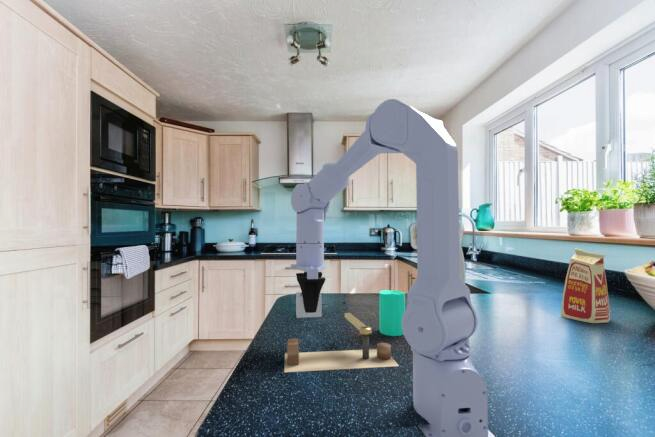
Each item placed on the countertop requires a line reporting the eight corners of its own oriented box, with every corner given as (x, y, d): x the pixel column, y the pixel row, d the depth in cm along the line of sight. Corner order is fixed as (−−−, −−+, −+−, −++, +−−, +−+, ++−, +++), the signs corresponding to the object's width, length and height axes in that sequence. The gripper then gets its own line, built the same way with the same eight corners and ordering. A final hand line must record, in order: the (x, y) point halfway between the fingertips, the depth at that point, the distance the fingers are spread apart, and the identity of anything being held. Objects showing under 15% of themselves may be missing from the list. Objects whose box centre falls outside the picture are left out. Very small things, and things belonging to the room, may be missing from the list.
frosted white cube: (321, 316, 61) (321, 295, 61) (296, 317, 60) (296, 296, 60) (319, 311, 65) (319, 291, 65) (296, 312, 64) (296, 292, 64)
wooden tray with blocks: (399, 372, 53) (399, 341, 54) (284, 379, 51) (284, 346, 51) (385, 354, 61) (384, 326, 61) (284, 359, 59) (285, 330, 59)
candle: (406, 342, 68) (405, 288, 69) (379, 340, 69) (378, 287, 70) (404, 333, 74) (404, 283, 75) (379, 331, 75) (379, 283, 76)
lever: (362, 335, 56) (362, 330, 56) (342, 317, 67) (342, 313, 67) (373, 334, 56) (373, 329, 56) (351, 316, 68) (351, 312, 68)
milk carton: (560, 316, 89) (558, 248, 90) (578, 313, 93) (576, 247, 94) (598, 325, 81) (596, 250, 82) (616, 320, 85) (613, 249, 86)
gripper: (290, 242, 70) (290, 301, 69) (291, 244, 56) (290, 320, 55) (321, 242, 71) (320, 300, 70) (329, 244, 56) (329, 318, 56)
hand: (309, 309), depth 63 cm, fingers closed on frosted white cube, 4 cm apart
